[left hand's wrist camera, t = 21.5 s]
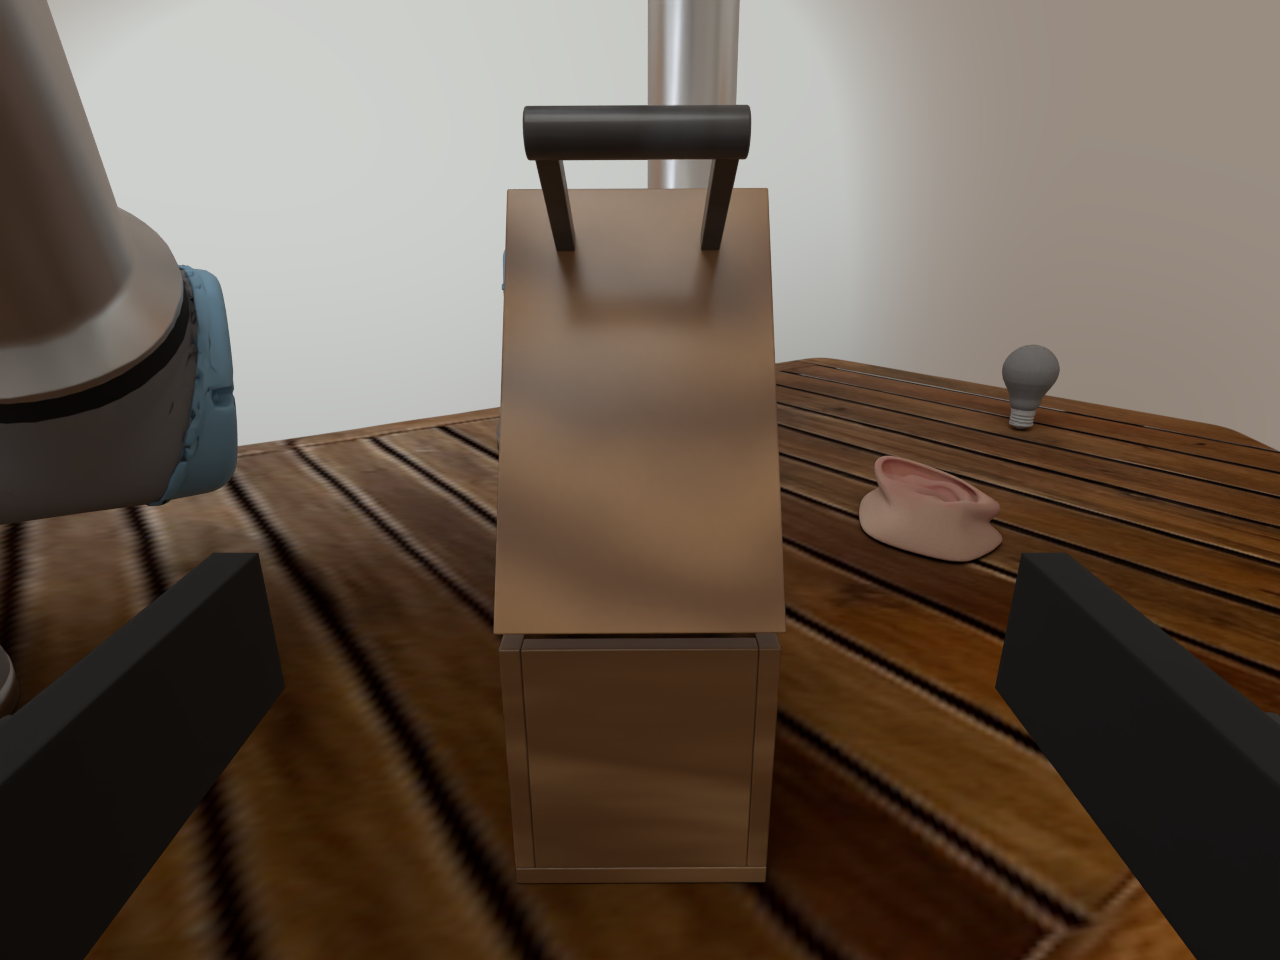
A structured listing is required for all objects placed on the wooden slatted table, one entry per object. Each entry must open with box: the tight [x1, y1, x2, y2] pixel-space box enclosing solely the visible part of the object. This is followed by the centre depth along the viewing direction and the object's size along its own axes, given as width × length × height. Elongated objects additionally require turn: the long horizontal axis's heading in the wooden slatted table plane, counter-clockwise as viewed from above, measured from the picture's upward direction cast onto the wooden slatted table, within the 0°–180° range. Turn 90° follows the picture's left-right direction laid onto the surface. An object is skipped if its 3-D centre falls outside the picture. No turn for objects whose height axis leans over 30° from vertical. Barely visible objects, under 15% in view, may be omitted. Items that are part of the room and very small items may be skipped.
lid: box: [494, 105, 786, 634], centre depth 23 cm, size 16×10×8 cm
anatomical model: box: [859, 456, 1002, 562], centre depth 61 cm, size 13×4×12 cm
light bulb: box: [1002, 345, 1060, 429], centre depth 88 cm, size 6×6×10 cm
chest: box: [498, 633, 781, 883], centre depth 34 cm, size 15×10×11 cm, turn 0°
